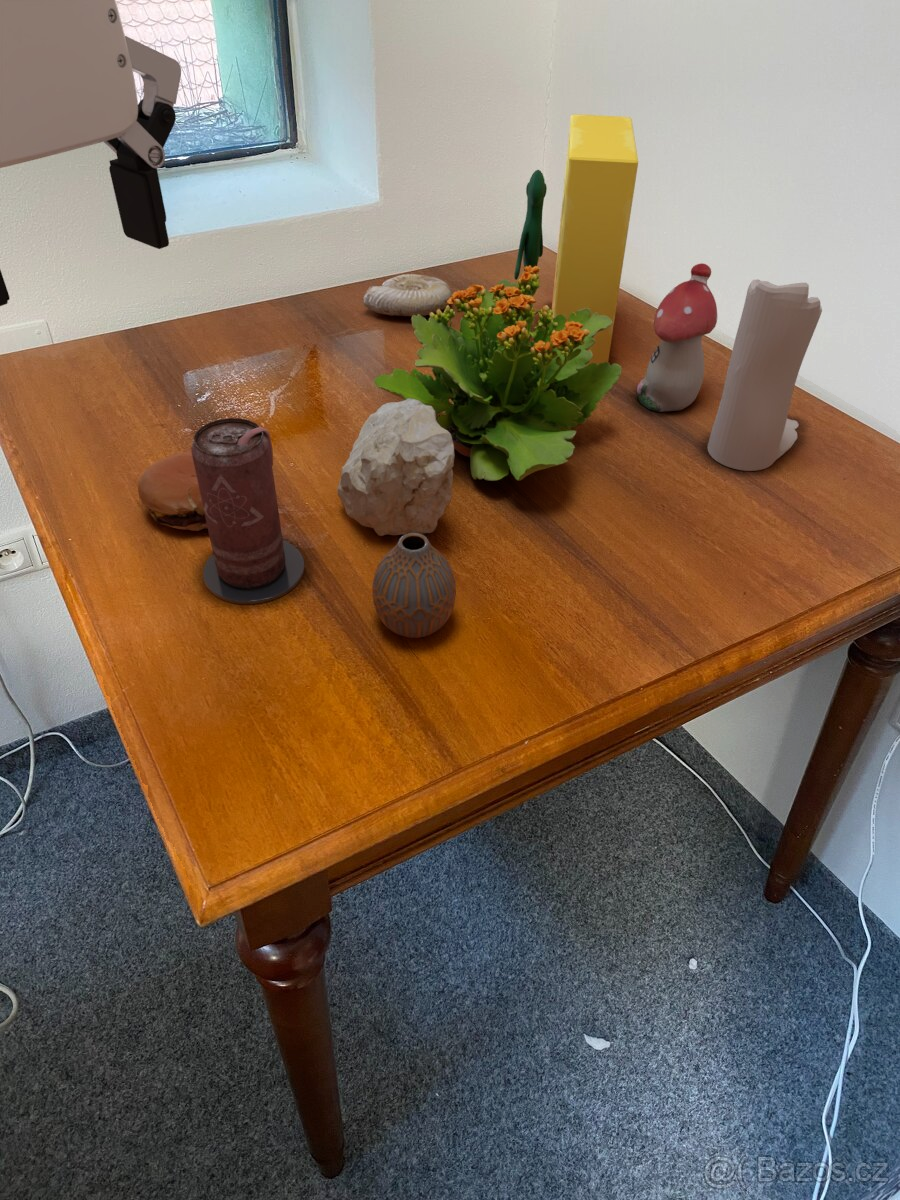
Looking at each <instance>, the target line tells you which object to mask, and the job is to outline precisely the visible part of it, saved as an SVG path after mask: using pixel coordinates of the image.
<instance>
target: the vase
mask: <svg viewBox="0 0 900 1200" xmlns="http://www.w3.org/2000/svg"><path fill="white" fill-rule="evenodd" d="M371 587H372V588H371V589H372V591H371V592H372V601H373V606H374V608H375V612H376V614H377V616H378V617H379V619H380V621H381V622H382V623H383V625H384V626H385V627H386V628H387V629H388V630H390V631H391V632H393V633H394V634H396V635H398V636H402V637H405V638H410V639H418V638H424V637H427V636H430V635H432V634H434V633H436V632H437V631H439V630H440V629H441V628H443V626H445V624H446V623H447V622H448V620H449V618H450V617H451V615H452V613H453V610H454V607H455V604H456V597H457V584H456V578H455V574H454V572H453V569H452V567H451V565H450V563H449V561H448V559H447V558H446V557H445V556H444V555H443V553H441V552H440V551H439V550H438V549H437V548H436V547H434V546H433V545H432V544H431V542H430V540H429V539H428V538H427V536H425V534H419V533H406V534H405V535H404V534H403V535H402V536H401V537H399V540H398V541H397V543H396V545H394V547H392V548H391V549H390V550H389V551H388V552H386V554H385V555H384V556H383V557H382V558H381V560H380V561H379V563H378V565H377V567H376V569H375V571H374V575H373V579H372V586H371Z"/></svg>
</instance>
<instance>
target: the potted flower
mask: <svg viewBox="0 0 900 1200" xmlns="http://www.w3.org/2000/svg"><path fill="white" fill-rule="evenodd" d="M522 268H523V271H522V274H521V275H520V278H519V277H518V279H517V282H515V281H514V282H511V281H510V280H509V279H506V278H504V279H502V280H499V281H498V282H497V283H496V285H494V286H491V287H490V288H489V289H487V288H485V285H480V284H477V283H476V284H471V285H469V286H468V287H467V288H465V289H464V290H463V289H462V290H460V289H458V290H457V291H454V292H452V296H451V297H450V298H449V300H448V301H447V304H449V305H447V306H446V308H444V310H443V312H442V310H439V309H438V310H437V312H436V313H432V312H431V313H430V315H429V318H428V319H426V317H424V316H423V315H422V316H421V315H420V314H418V315H417V316H416V315H413V316H411V319H410V320H411V327H412V329H413V330H414V331H413V335H414V336H415V338H416V340H417V341H418V343H419V344H420V345H422V347H420V348H418V349H417V351H416V356H417V357H418V358H419V359H414V367H416V368H417V369H416V368H412V369H411V371H410V373H409V371H407V370H405V369H401V368H393V370H392V373H390V374H387V373H382V374H381V375H377V376H376V377H375V378H373V382H374V384H375V386H376V387H377V388H378V389H382V390H384V391H387V392H388V393H390V394H392V395H394V396H396V397H397V398H398V397H399V398H401V399H403V401H404V400H407V399H408V398H410V399H416V400H419V401H420V402H422V403H423V404H424V405H427V406H432V407H433V409H434V410H435V413H436V415H437V414H439V416H438V417H436V421H437V423H438V424H439V425H440V426H441V427H442V428H444V429H446V430H447V431H448V432H449V433H450V434H451V437H452V441H453V446H454V450H456V451H457V453H458V454H460V455H462V456H464V457H466V458H469V464H470V474H471V478H472V480H475V481H476V480H477V479H478V480H479V481H481V480H483V479H484V480H485V481H488V482H497V481H499V480H502V479H503V478H505V477H507V476H508V475H509V473H511V475H512V476H513V477H514V479H515V480H516V481H522V480H523V479H525V478H526V477H527V476H529V475H531V474H533V473H536V472H539V471H543V470H546V469H549V468H553V467H557V466H560V465H562V464H565V463H568V458H570V457H571V456H573V454H574V451H575V449H576V446H575V445H574V444H573V443H572V441H573V440H574V437H575V436H576V434H577V430H573V428H577V427H578V425H582V424H585V423H586V419H589V418H590V417H591V415H592V412H594V411H595V410H596V409H597V408H598V403H599V402H601V400H602V399H603V398H604V397H605V394H607V393H608V392H609V391H610V390H611V389H612V388H613V386H614V385H615V384H617V382H618V381H619V380H620V376H621V374H622V366H621V365H620V364H618V363H616V362H614V363H612V364H611V363H610V362H609V361H608V362H603V363H600V364H599V365H597V364H596V363H591V364H588V365H587V366H586V364H587V363H589V361H590V360H591V359H592V356H593V354H592V352H591V350H587V349H589V348H590V347H591V346H592V345H594V344H595V340H594V339H593V337H594V336H595V335H596V333H597V332H599V331H602V330H604V329H606V328H608V327H609V326H610V325H612V324H613V322H612V321H611V319H610V318H609V317H607V316H605V315H600V316H599V315H598V313H597V312H595V313H594V314H593V315H592V316H591V310H590V309H589V308H584V309H581V310H578V311H577V313H576V314H575V313H574V312H572V313H571V314H570V316H569V319H568V322H567V320H566V317H565V316H564V315H563V314H558V315H557V316H556V317H554V318H553V317H552V315H553V313H554V311H552V308H550V307H549V306H548V305H547V304H545V305H543V306H542V308H541V309H539V310H536V311H535V307H534V306H533V305H534V304H535V303H537V300H536V298H535V297H534V296H535V294H536V293H537V290H538V289H539V288H540V287H541V285H540V279H539V278H540V274H539V272H540V270H541V267H538V265H537V266H535V267H533V268H532V267H531V265H529V266H526V267H524V266H523V267H522ZM524 269H525V270H526V271H524ZM528 292H530V294H529V293H528ZM450 305H455V309H456V311H454V309H453V308H451V307H450ZM456 313H463V315H462V317H461V318H460V320H459V330H457V329H455V328H454V327H453V326H452V323H453V320H452V319H453V318H454V317H455V316H456ZM536 315H538V319H539V320H537V325H536V326H534V327H533V329H535V330H534V331H533V332H532V326H533V323H534V322H535V319H536V317H535V316H536ZM590 316H591V317H590ZM552 320H553V322H552ZM449 322H450V323H449ZM448 325H449V326H448ZM531 337H532V338H533V341H530V338H531ZM586 350H587V351H586ZM418 368H432V369H431V372H432V374H433V376H434V377H435V378H433V376H432V375H431V374H423V373H422V371H418ZM450 400H451V402H450ZM443 412H445V414H444V413H443Z"/></svg>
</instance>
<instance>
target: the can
mask: <svg viewBox="0 0 900 1200" xmlns="http://www.w3.org/2000/svg"><path fill="white" fill-rule="evenodd" d="M192 439H193V441H192V444H191V446H190V452H192V457H193V462H194V466H195V471H196V476H197V480H198V485H199V490H200V494H201V499H202V504H203V508H204V513H205V518H206V522H207V527H208V528H207V531H208V536H209V541H210V545H211V549H212V554H213V555H214V560H215V564H216V569H217V573H218V575H219V576H220V577H221V578H222V579H223V580H224V581H225V582H227V583H228V584H230V585H232V586H234V587H238V588H248V589H252V588H257V587H262V586H264V585H267V584H269V583H271V582H272V581H274V580H275V579H276V578H277V577H278V576H279V574H280V573H281V572H282V570H283V569H284V566H285V562H286V560H285V553H284V546H283V533H282V532H283V531H282V525H281V519H280V512H279V504H278V499H277V490H276V484H275V477H274V469H273V466H274V449H273V445H272V440H271V434H270V432H269V431H268V430H267V428H266V427H262V426H260V425H259V424H258V423H257V422H254V421H252V420H251V419H246V418H242V417H241V418H240V417H227V418H220V419H215V420H212V421H210V422H207V423H206V424H204V425H202V426H200V427H199V428H198V429H197V430H196V431H195V432H194V435H193V438H192Z"/></svg>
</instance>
